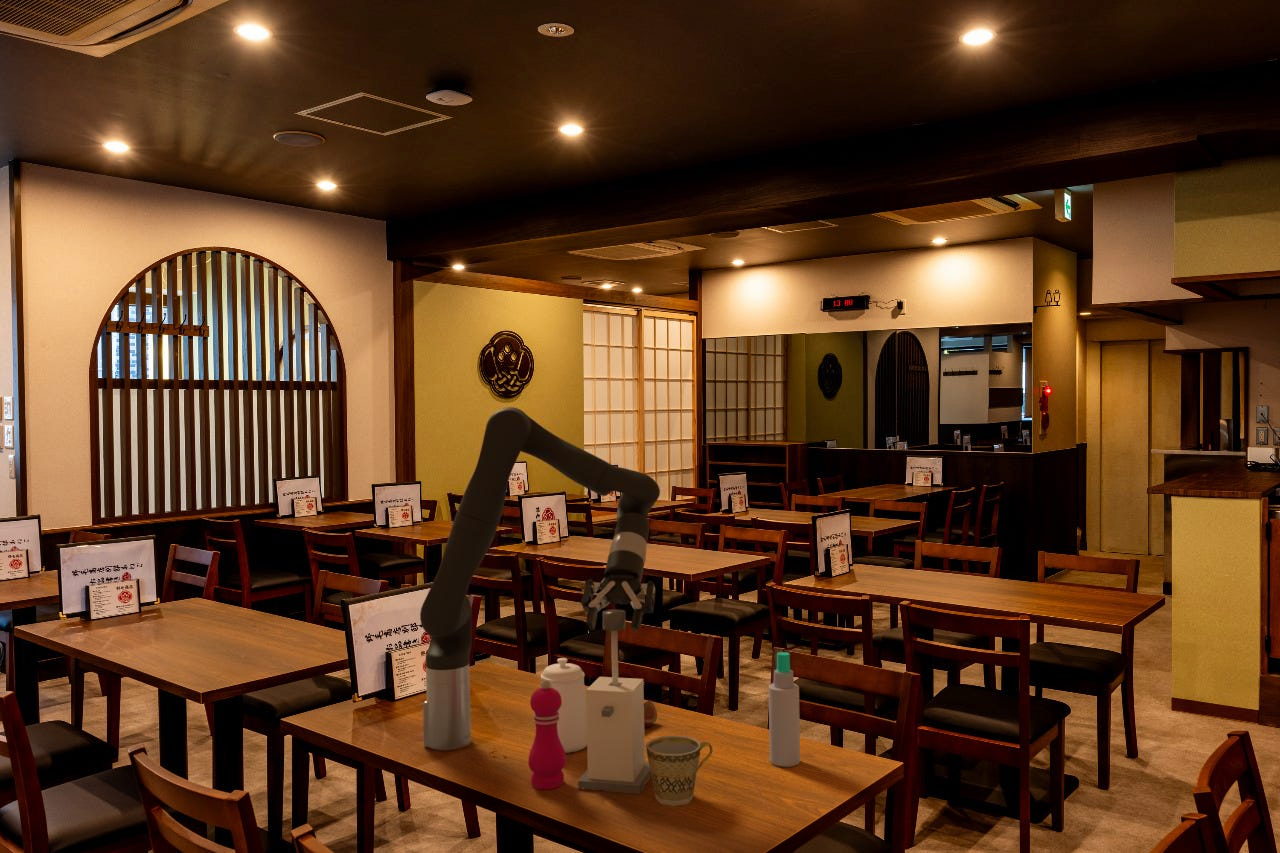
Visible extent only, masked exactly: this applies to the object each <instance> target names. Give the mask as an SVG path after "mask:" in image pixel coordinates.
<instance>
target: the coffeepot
mask: <svg viewBox="0 0 1280 853" xmlns="http://www.w3.org/2000/svg"><path fill="white" fill-rule="evenodd" d="M556 662H557V663H553V664H551V665H548V666H546V667H545V668H544V669H543V672H542V673H541V675H540V680H541V682H542V681H544V680H548V681H549V682H550V688H554V689H556V690H557V691H558V692H559V693H560V695H561V699H562V704H561V707H560V709H559V710H558V712H559V721H558V722H557V731H558V736H559V739H560V742H561V744H562V746H563V749H564V752H565V754H571V752H572V753H577V752H579V751H581V750H583V749H586V748H587V702H586V690H585V672H584V671H583V670H582V668H581V667H580V666H579V665H577V664H574V663H570V662H569V663H567V662H568V658H566V657H560V658H557V659H556ZM540 688H542V687H540Z"/></svg>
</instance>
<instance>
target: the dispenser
mask: <svg viewBox="0 0 1280 853" xmlns="http://www.w3.org/2000/svg"><path fill="white" fill-rule="evenodd" d="M644 688H645V686H644V678H633V677H632V678H628V677H618V686H612V676H609V677H608V676H599V677H598V678H597V679H596V680H595V681H594V682H592V684H591V685H589V686H588V688H587V689H586V690H585V698H586V709H587V746H586V748H587V769H586V770H585V772H584V773H583V774H582V775H581V777H580V778H579V779H578V781H577V788H581V789H580V790H587V789H595V790H594V791H599V790H604V791H603V792H613V793H623V794H624V793H625V794H637V795H638V794H639V795H640V794H641V792H642V790H643V789H644V787H645V786H646V784H647V783H648V782H649V780H650V778H651V777H652V776H651V770H650V766H649V761H646V751H645V750H646V749H645V747H646V746H645V745H646V744H645V727H644V703H645V699H644V698H645V697H644ZM649 777H650V778H649ZM646 782H647V783H646ZM582 788H584V789H582Z"/></svg>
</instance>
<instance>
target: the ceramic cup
mask: <svg viewBox="0 0 1280 853" xmlns="http://www.w3.org/2000/svg"><path fill="white" fill-rule="evenodd" d="M645 745H646V746H645V747H646V753H647V754H646V755H647V762H649V766H650V770H651V776H650V777H651V781H652V784H653V785H652V786H653V790H654V796H655V799H656V801H657V802H658V803H659V804H661V805H662V806H663V805H665V806H671V807H677V806H683V805H688V804H690V802H691V801H692V800H693V798H694V793H695V786H696V784H695V783H696V778H697V773H698V771H699V770H700V769H701V767H702V766H703V765H704V764H705V762H706V761H707V760H708V759H709V758H710V757H711V756H712V755H713V754H712V753H713V746H712V744H710V742H706V741H705V742H704V741H703V742H700V741H698V740H697V739H695V738H692V737H689V736H684V735H664V736H659V737H656V738H653V739H651V740H649V741H647V743H646V744H645ZM707 746H708V748H709V753H707V755H706V756H705V757H704V758H703V759H702V760H701V761H700V755H701V751H702V749H704V748H705V747H707ZM699 762H700V763H699Z"/></svg>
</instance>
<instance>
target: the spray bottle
mask: <svg viewBox="0 0 1280 853" xmlns="http://www.w3.org/2000/svg"><path fill="white" fill-rule="evenodd" d="M790 658H791V657H790V653H789V652H785V651H782V652H781V651H780V652H777V653H776V669H775V670H773V682H772V683H771V684H769V685H768V717H769V718H768V723H769V725H768V728H769V729H768V730H769V733H768V734H769V761H770V763H771V764H773V766H776V767H782V768H791V767H795V766H797V765H799V763H800V762H801V740H800V739H801V738H800V737H801V733H800V731H801V730H800V728H801V727H800V726H801V725H800V724H801V723H800V686H799V685H798V684H796V683H794V682H795V681H794V679H795V678H794V670H791V664H790V662H791V661H790Z"/></svg>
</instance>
